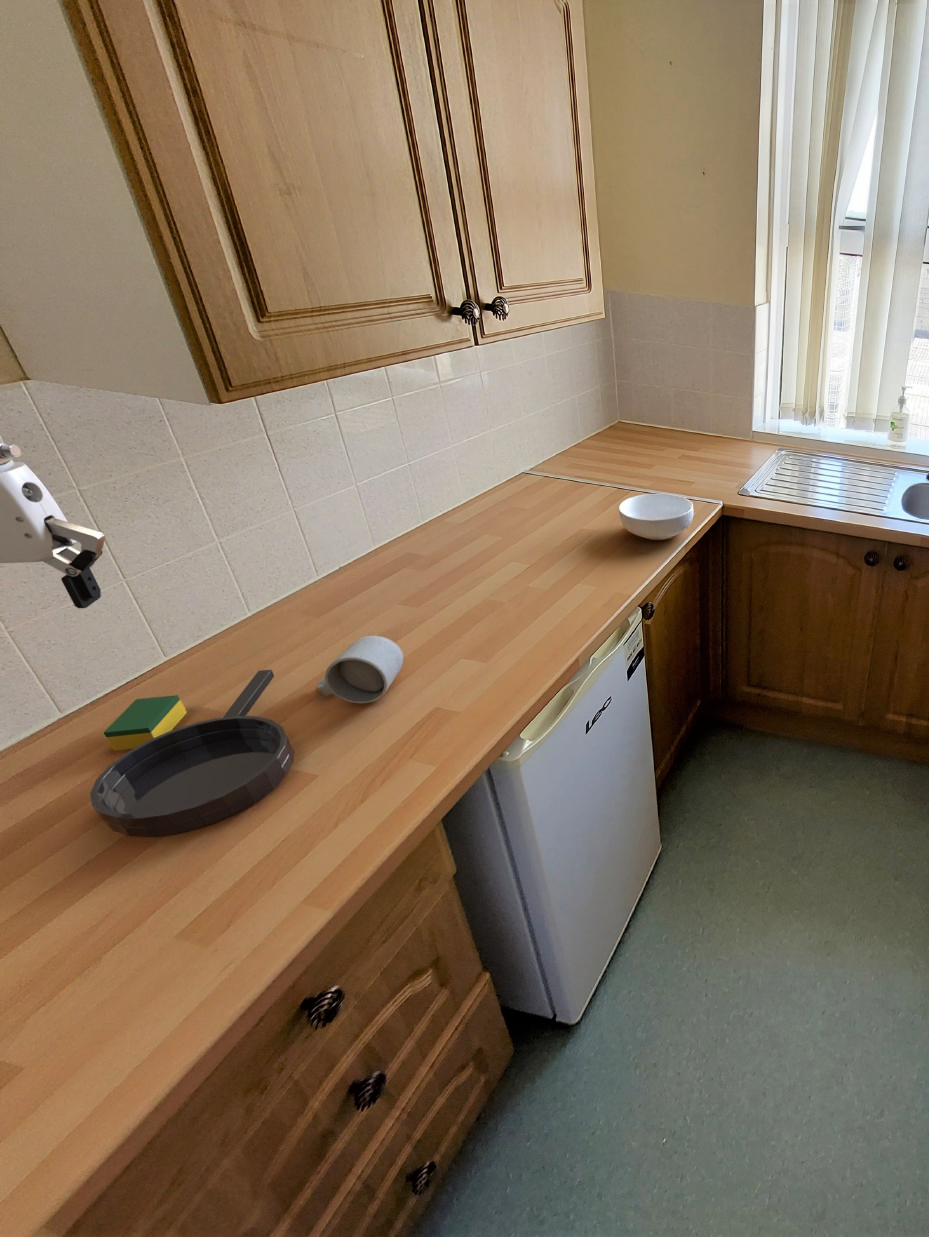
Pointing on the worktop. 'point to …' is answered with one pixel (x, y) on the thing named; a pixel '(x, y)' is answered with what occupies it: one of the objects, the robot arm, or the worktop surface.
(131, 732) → the sponge
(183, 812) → the pan
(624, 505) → the cereal bowl
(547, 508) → the worktop surface
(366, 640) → the ceramic mug
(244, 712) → the pan handle
